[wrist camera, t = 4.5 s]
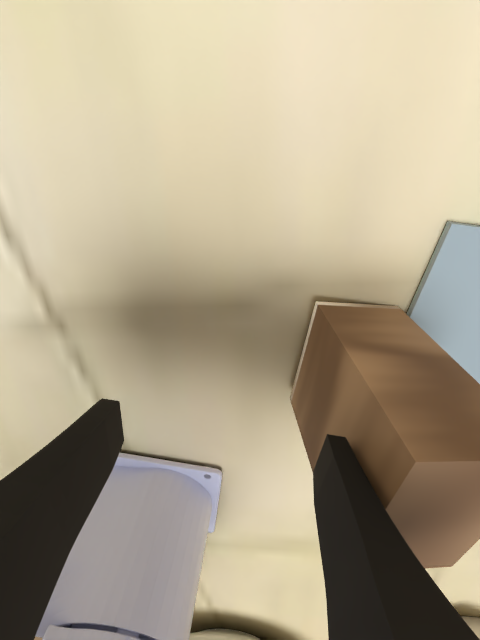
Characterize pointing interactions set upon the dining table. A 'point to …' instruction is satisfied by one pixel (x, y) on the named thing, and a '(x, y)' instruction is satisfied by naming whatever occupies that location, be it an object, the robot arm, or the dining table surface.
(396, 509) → the block
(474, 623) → the die
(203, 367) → the dining table surface
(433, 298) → the mat
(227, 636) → the serving bowl
